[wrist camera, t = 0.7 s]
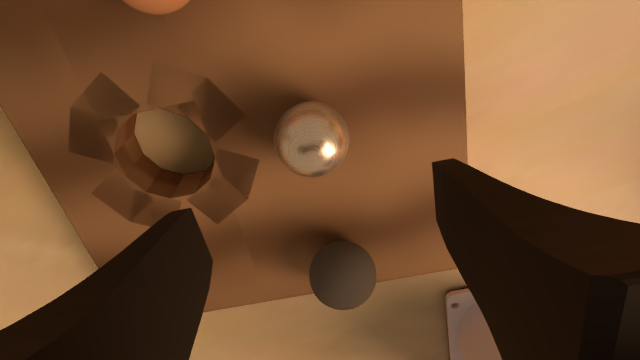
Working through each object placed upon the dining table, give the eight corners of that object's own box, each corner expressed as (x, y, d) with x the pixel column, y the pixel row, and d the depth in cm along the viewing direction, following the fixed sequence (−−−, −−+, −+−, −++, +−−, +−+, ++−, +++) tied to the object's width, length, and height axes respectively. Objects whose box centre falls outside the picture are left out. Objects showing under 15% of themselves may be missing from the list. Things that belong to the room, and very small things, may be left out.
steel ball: (351, 150, 19) (359, 183, 16) (285, 163, 20) (282, 198, 17) (339, 85, 18) (345, 108, 15) (268, 100, 18) (261, 126, 15)
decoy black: (375, 271, 23) (385, 318, 20) (315, 282, 23) (317, 330, 20) (366, 222, 21) (376, 265, 18) (302, 234, 22) (302, 278, 19)
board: (456, 239, 25) (470, 265, 23) (146, 294, 26) (132, 324, 24) (434, -175, 16) (455, -196, 13) (-45, -55, 17) (-98, -57, 15)
